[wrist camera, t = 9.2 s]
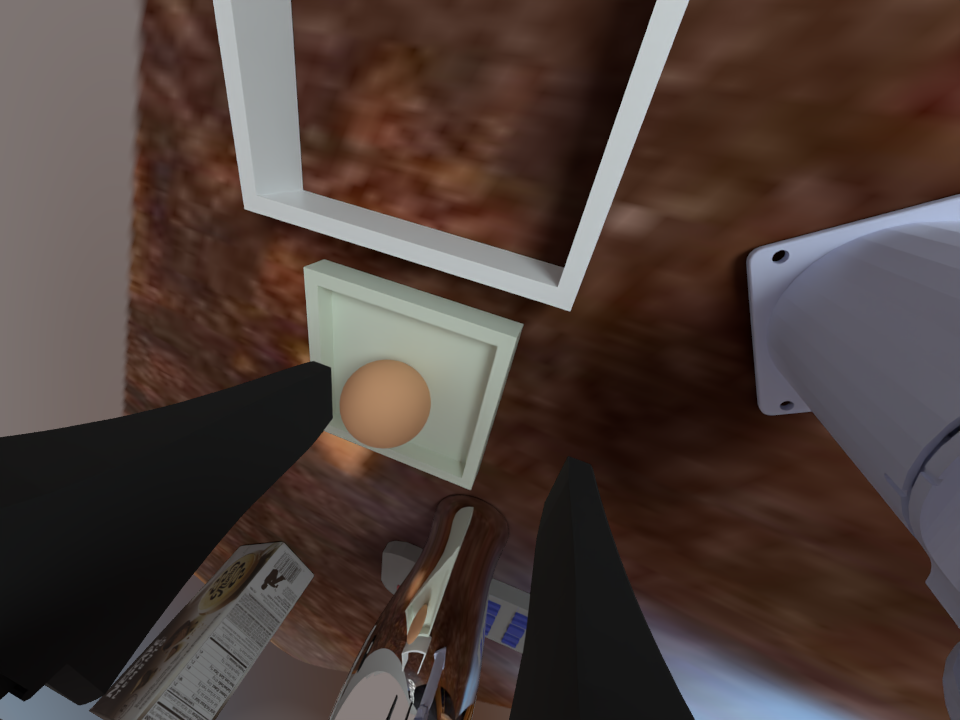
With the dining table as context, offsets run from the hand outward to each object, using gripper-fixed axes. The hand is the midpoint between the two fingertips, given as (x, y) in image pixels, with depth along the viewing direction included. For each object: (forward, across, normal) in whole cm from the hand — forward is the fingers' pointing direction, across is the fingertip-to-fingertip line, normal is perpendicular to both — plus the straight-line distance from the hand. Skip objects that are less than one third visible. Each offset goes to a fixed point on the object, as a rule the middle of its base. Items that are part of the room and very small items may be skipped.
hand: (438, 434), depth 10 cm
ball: (+9, +5, +6) cm, 13 cm away
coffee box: (+10, +20, +41) cm, 46 cm away
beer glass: (+10, -2, +18) cm, 21 cm away
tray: (+10, +5, +6) cm, 13 cm away
